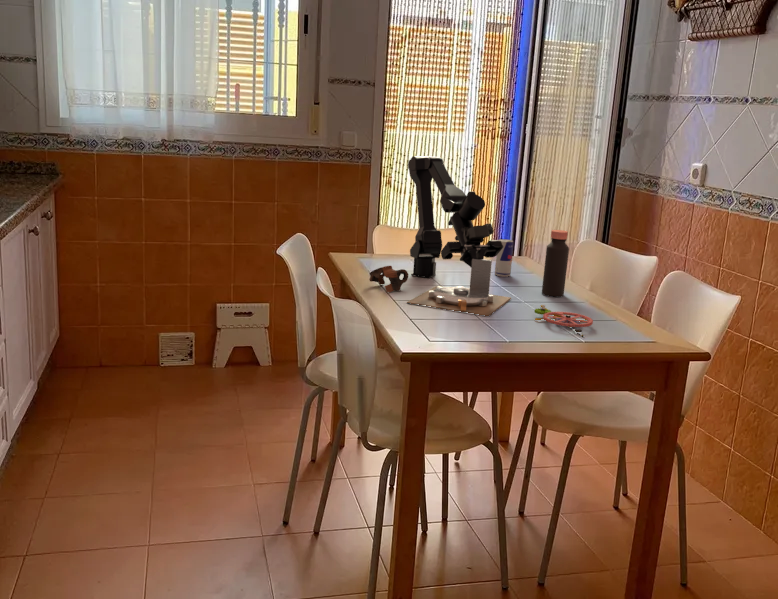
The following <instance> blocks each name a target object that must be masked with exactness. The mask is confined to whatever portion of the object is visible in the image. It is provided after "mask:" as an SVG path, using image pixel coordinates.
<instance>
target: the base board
mask: <svg viewBox="0 0 778 599" xmlns="http://www.w3.org/2000/svg"><path fill="white" fill-rule="evenodd" d="M436 287H439V286H438V285H435V286H433V287H432V288H430V289H428V290H427V291H424V292H422V293H420V294H419V295H417V296H415V297H414V298H412V299H410V300H408V301H406V304H407V303H411V304H410V305H412V304H419V305H426V306H431V307H436V308H435V309H437V308H440V309H439V310H443V309H446V310H445V311H449V310H454V311H453V312H455V311H461V312H468V313H474V314H479V315H478V316H480V315H485V316H484V317H486V316H489V315H490V316H492V315H493V314H494V313H495V312H496V310H497V309H498V310H500V308H502V307H503V306H504V305H505V304H507V303H508V302H509V301H510V299H512V297H510V296H503V295H497V294H490V293H489V295H493V302H490V301H488V302H487V306H480V305H476V306H466V304H467V302H466V300H461V306H460V307H459V306H458V305H452V304H447V303H438V302H436V300H435V299H434V298H433V297H429V290H431V291H434V290H435V289H436ZM501 306H502V307H501ZM431 307H430V308H431ZM498 310H497V311H498ZM461 312H460V313H461ZM493 312H494V313H493ZM492 313H493V314H492ZM490 316H489V317H490Z"/></svg>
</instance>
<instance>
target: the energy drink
mask: <svg viewBox="0 0 778 599" xmlns="http://www.w3.org/2000/svg"><path fill="white" fill-rule="evenodd" d="M498 240H500V241H501V242H502V244H503V248H502V249H501V251H500V252H499V253H498V254H497V255H496V256H495V267H494V276H496V275H497V276H498V277H502V278H507V277H508V276H509V277H510V276H511V272H512V263H513V262H512V261H513V255H514V253H513V252H514V240H512V239H505V238H500V239H498ZM497 276H496V277H497Z"/></svg>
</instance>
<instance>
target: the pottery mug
mask: <svg viewBox="0 0 778 599" xmlns="http://www.w3.org/2000/svg"><path fill="white" fill-rule="evenodd" d="M401 275H403V276H402V279H401V278H400V277H401ZM384 277H385V278H387V279H388V280H389V284H387V285H385V284H386V281H385V278H384ZM408 279H409V273H408V271H407V270H406V269H404V268H403V269H397V270H396V269H393V266H392V265H385V266H382V267H378V268H375V269H374V270H372V271H370V272H369V282H374V283H378V284H379V285H380V284H384V289H385V290H386V291H385V292H386V293H387V292H389V293H391V292H397V291H398V292H399V290H400V291H401V287H402V286H403V285H404V284H405V283H406V282H407V281H408Z"/></svg>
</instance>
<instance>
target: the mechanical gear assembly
mask: <svg viewBox="0 0 778 599" xmlns="http://www.w3.org/2000/svg"><path fill="white" fill-rule="evenodd" d="M540 306H541V307H542V308H541V307H540V308H535V309H534V313H535V314H537V315H541V316H542V318H541V317H538V318H537V317H536V318H534V321H535V320H541V319H544V320H546V321H547V322H546V323H550V324H553V325H558V326H563V327H567V328H569V327H573V328H574V329H575V328H576V329H575V331H576V332H582V333H583V330H582V329H580V328H583V327H584V328H586V327H589V326H592V325H594V321H593V319H592V318H591V317H589V316H587V315H584V314H581V313H575V312H570V311H552V310H550V309H548V308H547V307H546V305H545V304H541V305H540ZM552 315H554V316H552ZM551 319H555V321H554V320H551ZM576 319H585V320H587V321H584V320H576ZM579 321H580V322H579ZM568 326H569V327H568ZM577 328H578V329H577Z"/></svg>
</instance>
